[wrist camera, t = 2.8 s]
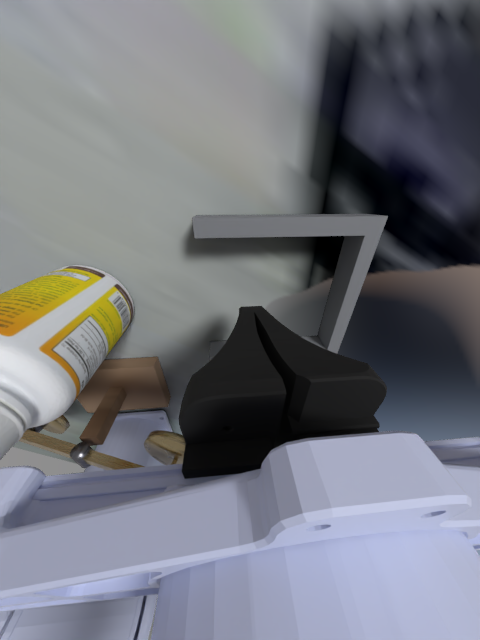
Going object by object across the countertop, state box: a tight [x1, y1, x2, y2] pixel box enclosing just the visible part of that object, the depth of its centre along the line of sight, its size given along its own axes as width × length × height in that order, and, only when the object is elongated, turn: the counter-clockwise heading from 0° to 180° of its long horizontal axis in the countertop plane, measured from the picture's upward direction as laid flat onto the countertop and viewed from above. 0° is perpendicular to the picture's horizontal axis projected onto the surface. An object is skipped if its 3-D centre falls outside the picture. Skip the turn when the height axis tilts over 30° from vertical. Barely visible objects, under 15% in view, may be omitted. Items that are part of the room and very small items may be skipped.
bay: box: [192, 214, 388, 360], centre depth 14 cm, size 11×11×2 cm
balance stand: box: [77, 357, 171, 446], centre depth 17 cm, size 6×8×6 cm
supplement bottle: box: [0, 265, 134, 460], centre depth 10 cm, size 6×6×10 cm
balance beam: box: [19, 415, 186, 470], centre depth 14 cm, size 5×18×2 cm, turn 90°
